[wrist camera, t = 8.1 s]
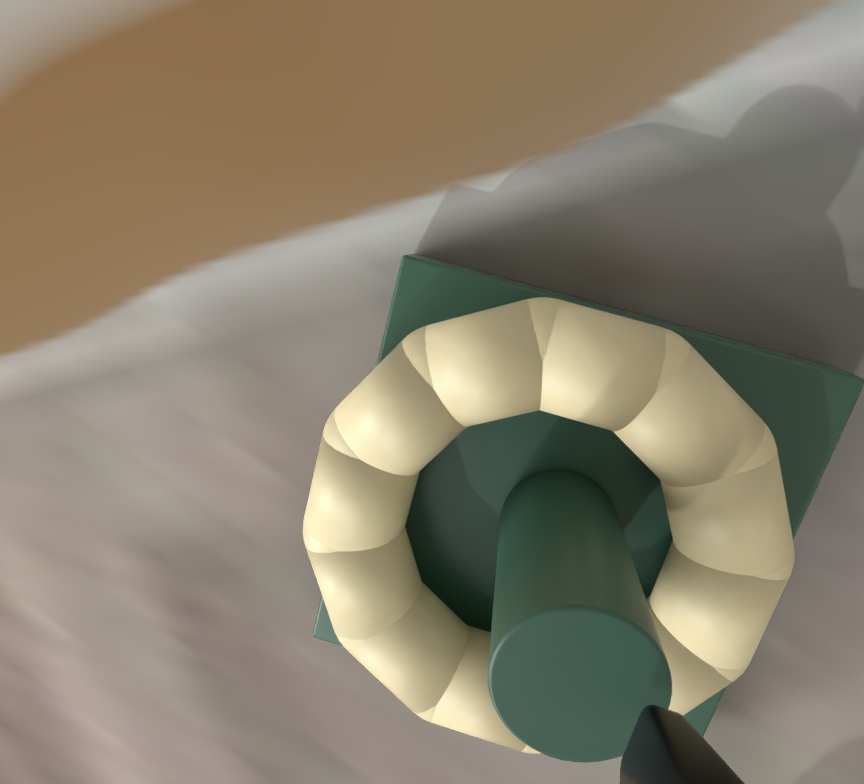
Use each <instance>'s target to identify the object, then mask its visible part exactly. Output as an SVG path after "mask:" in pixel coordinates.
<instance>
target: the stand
mask: <svg viewBox="0 0 864 784" xmlns="http://www.w3.org/2000/svg"><path fill="white" fill-rule="evenodd" d="M537 297H548V298H554V299H559V300H563V301H567V302H571V303H574V304H578V305H582V306H585V307H589V308H593V309H596V310H600V311H604V312H608V313H611V314H615V315H619V316H622V317H626V318H630V319H633V320H637V321H641V322H645V323H648V324H652V325H656V326H659V327H663V328H665V329H669V330H671V331H673V332H675V333H676V334H678V335H680V336H681V337H683V338H684V339H685V340H686V341H687V342H688V343H689V344H690V345H691V346H692V347H693V348H694V349H695V350H696V351H697V352H698V353H699V354H700V355H701V356H702V357H703V358H704V359H705V360H706V361H707V363H708V364H709V365H710V366H711V367H712V368H713V369H714V370H715V371H716V372H717V373H718V374H719V375H720V376H721V377H722V378H723V379H724V380H725V381H726V382H727V383H728V384H729V385H730V387H731V388H732V389H733V390H734V391H735V392H736V393H737V394H738V395H739V396H740V397H741V398H742V399H743V400H744V401H745V402H746V403H747V404H748V405H749V406H750V407H751V408H752V409H753V411H754V412H755V413H756V414H757V415H758V416H759V417H760V418H761V419H762V420H763V421H764V423H765V424H766V425H767V426H768V428H769V429H770V431H771V433H772V435H773V437H774V439H775V443H776V447H777V451H778V457H779V463H780V468H781V474H782V480H783V486H784V491H785V497H786V503H787V509H788V514H789V520H790V526H791V532H792V537H793V538H794V536H795V534H796V532H797V530H798V527H799V525H800V523H801V521H802V519H803V516H804V514H805V512H806V510H807V508H808V506H809V503H810V501H811V499H812V497H813V495H814V492H815V490H816V488H817V486H818V484H819V481H820V479H821V477H822V475H823V473H824V470H825V468H826V466H827V464H828V462H829V459H830V457H831V455H832V453H833V451H834V449H835V446H836V444H837V442H838V440H839V438H840V435H841V433H842V431H843V429H844V427H845V424H846V422H847V420H848V418H849V416H850V413H851V411H852V409H853V407H854V405H855V402H856V400H857V398H858V396H859V394H860V392H861V389H862V387H863V385H864V380H863V379H862V378H860V377H858V376H855V375H853V374H850V373H848V372H845V371H843V370H840V369H838V368H835V367H832V366H828V365H825V364H821V363H817V362H814V361H810V360H806V359H803V358H799V357H795V356H791V355H788V354H784V353H780V352H777V351H773V350H769V349H766V348H762V347H758V346H754V345H751V344H747V343H743V342H740V341H736V340H732V339H729V338H725V337H721V336H717V335H714V334H710V333H706V332H703V331H699V330H695V329H691V328H688V327H684V326H680V325H677V324H673V323H669V322H666V321H662V320H658V319H654V318H651V317H647V316H643V315H640V314H636V313H632V312H629V311H625V310H621V309H617V308H614V307H610V306H606V305H603V304H599V303H595V302H592V301H588V300H584V299H580V298H577V297H573V296H569V295H566V294H562V293H558V292H554V291H551V290H547V289H543V288H540V287H536V286H532V285H529V284H525V283H521V282H517V281H514V280H510V279H506V278H503V277H499V276H495V275H492V274H488V273H484V272H480V271H477V270H473V269H469V268H466V267H462V266H458V265H455V264H451V263H447V262H443V261H440V260H436V259H432V258H429V257H425V256H421V255H417V254H411V255H404V256H403V257H402V261H401V265H400V269H399V273H398V278H397V282H396V286H395V290H394V294H393V299H392V303H391V307H390V311H389V315H388V320H387V324H386V328H385V332H384V336H383V341H382V345H381V349H380V353H379V358H378V362H377V365H378V364H379V363H380V362H381V361H382V360H383V359H384V358H385V357H386V356H387V355H388V354H389V353H390V352H391V351H392V350H393V349H394V348H395V347H396V346H397V345H398V344H399V343H400V342H401V341H402V340H403V339H404V338H405V337H406V336H408V335H409V334H410V333H411V332H413V331H415V330H417V329H419V328H421V327H424V326H427V325H430V324H434V323H438V322H441V321H445V320H449V319H453V318H457V317H461V316H464V315H468V314H472V313H476V312H480V311H483V310H487V309H491V308H495V307H499V306H502V305H506V304H510V303H514V302H518V301H521V300H525V299H531V298H537ZM405 528H406V531H407V535H408V538H409V541H410V544H411V548H412V551H413V554H414V558H415V561H416V564H417V568H418V571H419V574H420V577H421V581H422V582H423V583H424V584H425V585H426V586H427V587H428V588H429V589H430V590H431V591H432V592H433V593H434V594H435V595H436V596H437V597H438V598H439V599H441V600H442V601H443V602H444V603H445V604H446V605H447V606H448V607H449V608H450V609H451V610H452V611H453V612H454V613H455V614H456V615H457V616H458V617H459V618H460V619H461V620H462V621H463V622H464V623H465V624H466V625H469V626H472V627H475V628H478V629H482V630H485V631H488V632H491V639H490V651H489V664H488V676H487V678H488V689H489V694H490V698H491V701H492V703H493V706H494V708H495V710H496V712H497V714H498V716H499V718H500V719H501V720H502V722H503V723H504V725H505V726H506V727H507V728H508V729H509V730H510V731H511V733H512V734H513V735H515V736H516V737H517V738H518V739H519V740H520V741H522V742H523V743H525V744H526V745H528V746H529V747H531V748H532V749H534V750H536V751H538V752H540V753H543V754H545V755H548V756H550V757H553V758H557V759H561V760H566V761H572V762H598V761H604V760H609V759H613V758H616V757H620V756H622V755H624V752H625V750H626V747H627V745H628V742H629V740H630V737H631V735H632V733H633V730H634V728H635V725H636V723H637V721H638V718H639V716H640V714H641V712H642V710H643V709H644V708H645V707H646V706H648V705H655V706H658V707H662V708H665V709H668V708H669V706H670V702H671V696H672V678H671V672H670V668H669V665H668V662H667V659H666V656H665V653H664V650H663V647H662V644H661V641H660V638H659V636H658V633H657V630H656V627H655V624H654V621H653V618H652V615H651V612H650V609H649V607H648V604H647V601H646V599H647V598H648V597H649V596H651V593H652V591H653V588H654V586H655V583H656V581H657V578H658V576H659V573H660V571H661V568H662V566H663V563H664V560H665V558H666V555H667V553H668V550H669V548H670V545H671V543H672V540H673V537H672V532H671V528H670V523H669V518H668V514H667V509H666V504H665V500H664V495H663V490H662V486H661V481H660V479H659V478H658V477H657V476H656V475H655V474H654V473H653V472H652V471H651V470H650V469H649V468H648V467H647V466H646V465H645V464H644V463H643V462H642V461H641V460H640V458H639V457H638V456H637V455H636V454H635V453H634V452H633V451H632V450H631V449H630V448H629V447H628V446H627V445H626V444H625V443H624V442H623V441H622V440H621V439H620V438H619V437H618V436H617V435H616V434H615V433H614V432H613V431H611V430H608V429H604V428H601V427H597V426H593V425H590V424H586V423H583V422H579V421H576V420H572V419H569V418H565V417H562V416H558V415H555V414H551V413H548V412H544V411H541V410H539V411H534V412H530V413H525V414H521V415H517V416H512V417H508V418H503V419H499V420H495V421H490V422H486V423H481V424H477V425H473V426H468V427H467V428H466V429H464V430H463V431H462V432H461V433H460V434H459V435H458V436H457V437H456V438H455V439H454V440H453V441H452V442H450V443H449V444H448V445H447V446H446V447H445V448H444V449H443V450H442V451H441V452H440V453H439V454H438V455H436V456H435V457H434V458H433V459H432V460H431V461H430V462H429V463H428V464H427V465H426V466H425V467H424V468H422V469H421V470H420V472H419V476H418V480H417V483H416V487H415V491H414V494H413V498H412V502H411V506H410V509H409V513H408V517H407V521H406V524H405ZM313 636H314V637H316V638H319V639H322V640H325V641H329V642H332V643H335V644H338V645H341V646H343V645H342V644H341V642H340V641H339V640H338V637H337V636H336V634H335V631H334V629H333V626H332V623H331V620H330V617H329V614H328V611H327V608H326V605H325V602H324V599H323V596H322V598H321V602H320V606H319V610H318V614H317V619H316V623H315V627H314V631H313ZM725 688H726V687H725ZM725 688H723V689H722V690H720V691H719V692H717V693H716V694H714V695H713V696H711V697H710V698H708V699H707V700H705V701H704V702H702V703H701V704H699V705H698V706H697V707H695V708H694V709H692V710H691V711H689V712H688V713H686V714H685V715H683V716H684V717H685V718H686V719H687V721H688V722H689V723H690V724H691V725H692V726H693V727H694V728H695V729H696V731H697V732H698V733H699V734H700V735H701V736H702V737H703V736H704V734H705V731H706V729H707V727H708V725H709V723H710V720H711V718H712V716H713V714H714V712H715V709H716V707H717V705H718V703H719V701H720V698H721V696H722V694H723V692H724V690H725Z"/></svg>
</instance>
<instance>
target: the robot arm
mask: <svg viewBox="0 0 864 784" xmlns="http://www.w3.org/2000/svg"><path fill="white" fill-rule="evenodd" d="M620 784H745V783H744V782H743V781H742V780H741V779H740V778H739V777H738V776H737V775H736V774H735V772H734V771H733V770H732V769H731V768H730V767H729V766H728V765H727V764H726V763H725V761H724V760H723V759H722V758H721V757H720V756H719V755H718V754H717V753H716V751H715V750H714V749H713V748H712V747H711V746H710V745H709V744H708V743H707V742H706V740H705V739H704V738H703V737H702V736H701V735H700V734H699V733H698V732H697V731H696V729H695V728H694V727H693V726H692V725H691V724H690V723H689V722H688V721H687V719H686V718H685V717H684V716H683V715H681V714H680V713H678V712H675V711H671V710H668V709H665V708H662V707H658V706H655V705H648V706H646V707H645V708H644V709H643V710H642V712H641V714H640V716H639V718H638V721H637V723H636V725H635V728H634V730H633V733H632V735H631V737H630V740H629V742H628V745H627V747H626V750H625V752H624V755H623V758H622V762H621V768H620Z"/></svg>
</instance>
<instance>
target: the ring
mask: <svg viewBox="0 0 864 784" xmlns="http://www.w3.org/2000/svg"><path fill="white" fill-rule="evenodd" d="M539 410H541V411H544V412H548V413H551V414H555V415H558V416H562V417H565V418H569V419H572V420H576V421H579V422H583V423H586V424H590V425H593V426H597V427H601V428H604V429H608V430H611V431H613V432H614V433H615V434H616V435H617V436H618V437H619V438H620V439H621V440H622V441H623V442H624V443H625V444H626V445H627V446H628V447H629V448H630V449H631V450H632V451H633V452H634V453H635V454H636V455H637V456H638V457H639V458H640V460H641V461H642V462H643V463H644V464H645V465H646V466H647V467H648V468H649V469H650V470H651V471H652V472H653V473H654V474H655V475H656V476H657V477H658V478H659V479H660V481H661V486H662V490H663V495H664V500H665V504H666V509H667V514H668V518H669V523H670V528H671V532H672V537H673V540H672V543H671V545H670V548H669V550H668V553H667V555H666V558H665V560H664V563H663V566H662V568H661V571H660V573H659V576H658V578H657V581H656V583H655V586H654V588H653V591H652V593H651V596H649V597H648V598H647V599H646V601H647V604H648V607H649V609H650V612H651V615H652V618H653V621H654V624H655V627H656V630H657V633H658V636H659V638H660V641H661V644H662V647H663V650H664V653H665V656H666V659H667V662H668V665H669V668H670V672H671V678H672V696H671V702H670V706H669V708H668V710H671V711H675V712H678V713H680V714H681V715H685V714H686V713H688V712H689V711H691V710H692V709H694V708H695V707H697V706H698V705H699V704H701V703H702V702H704V701H705V700H707V699H708V698H710V697H711V696H713V695H714V694H716V693H717V692H719V691H720V690H722V689H723V688H725V687H726V686H728V685H729V684H731V683H732V682H734V681H735V680H736V679H737V678H738V677H740V676H741V675H742V674H743V673H744V672H745V670H746V669H747V667H748V666H749V664H750V662H751V660H752V658H753V655H754V653H755V651H756V649H757V647H758V645H759V642H760V640H761V638H762V636H763V634H764V632H765V629H766V627H767V625H768V623H769V621H770V619H771V617H772V614H773V612H774V610H775V608H776V606H777V604H778V601H779V599H780V597H781V595H782V593H783V591H784V588H785V586H786V584H787V582H788V580H789V578H790V575H791V573H792V569H793V565H794V560H795V551H794V543H793V537H792V532H791V526H790V520H789V514H788V509H787V503H786V497H785V491H784V486H783V480H782V474H781V468H780V463H779V457H778V451H777V447H776V443H775V439H774V437H773V435H772V433H771V431H770V429H769V428H768V426H767V425H766V424H765V423H764V421H763V420H762V419H761V418H760V417H759V416H758V415H757V414H756V413H755V412H754V411H753V409H752V408H751V407H750V406H749V405H748V404H747V403H746V402H745V401H744V400H743V399H742V398H741V397H740V396H739V395H738V394H737V393H736V392H735V391H734V390H733V389H732V388H731V387H730V385H729V384H728V383H727V382H726V381H725V380H724V379H723V378H722V377H721V376H720V375H719V374H718V373H717V372H716V371H715V370H714V369H713V368H712V367H711V366H710V365H709V364H708V363H707V361H706V360H705V359H704V358H703V357H702V356H701V355H700V354H699V353H698V352H697V351H696V350H695V349H694V348H693V347H692V346H691V345H690V344H689V343H688V342H687V341H686V340H685V339H684V338H683V337H681V336H680V335H678V334H676V333H675V332H673V331H671V330H669V329H665V328H663V327H659V326H656V325H652V324H648V323H645V322H641V321H637V320H633V319H630V318H626V317H622V316H619V315H615V314H611V313H608V312H604V311H600V310H596V309H593V308H589V307H585V306H582V305H578V304H574V303H571V302H567V301H563V300H559V299H554V298H548V297H537V298H531V299H525V300H521V301H518V302H514V303H510V304H506V305H502V306H499V307H495V308H491V309H487V310H483V311H480V312H476V313H472V314H468V315H464V316H461V317H457V318H453V319H449V320H445V321H441V322H438V323H434V324H430V325H427V326H424V327H421V328H419V329H417V330H415V331H413V332H411V333H410V334H409V335H408V336H406V337H405V338H404V339H403V340H402V341H401V342H400V343H399V344H398V345H397V346H396V347H395V348H394V349H393V350H392V351H391V352H390V353H389V354H388V355H387V356H386V357H385V358H384V359H383V360H382V361H381V362H380V363H379V364H378V365H377V366H376V367H375V369H374V370H373V371H372V372H371V373H370V374H369V375H368V376H367V377H366V378H365V379H364V380H363V381H362V382H361V383H360V384H359V385H358V386H357V387H356V388H355V389H354V390H353V391H352V392H351V393H350V394H349V395H348V396H347V397H346V398H345V399H344V400H343V401H342V402H341V403H340V404H339V405H338V406H337V407H336V409H335V410H334V411H333V412H332V414H331V415H330V417H329V418H328V420H327V422H326V424H325V427H324V430H323V434H322V439H321V443H320V448H319V453H318V457H317V462H316V466H315V471H314V475H313V480H312V484H311V489H310V494H309V498H308V503H307V507H306V512H305V516H304V523H303V538H304V542H305V546H306V549H307V552H308V555H309V558H310V561H311V564H312V567H313V570H314V573H315V576H316V579H317V582H318V585H319V587H320V590H321V593H322V596H323V599H324V602H325V605H326V608H327V611H328V614H329V617H330V620H331V623H332V626H333V629H334V631H335V634H336V636H337V637H338V640H339V641H340V642H341V644H342V645H343V646H344V647H345V648H346V649H347V650H348V651H349V652H350V653H351V654H352V655H353V656H354V657H355V658H356V659H357V660H358V661H359V662H360V663H361V664H363V665H364V666H365V667H366V668H367V669H368V670H369V671H370V672H371V673H372V674H373V675H374V676H375V677H376V678H377V679H378V680H380V681H381V682H382V683H383V684H384V685H385V686H386V687H387V688H388V689H389V690H390V691H391V692H392V693H393V694H394V695H395V696H396V697H398V698H399V699H400V700H401V701H402V702H403V703H404V704H405V705H406V706H407V707H408V708H409V709H410V710H411V711H412V712H414V713H415V714H416V715H418V716H419V717H421V718H422V719H424V720H427V721H429V722H432V723H435V724H438V725H441V726H444V727H447V728H450V729H453V730H456V731H459V732H462V733H465V734H469V735H472V736H475V737H478V738H481V739H484V740H487V741H490V742H493V743H496V744H499V745H502V746H505V747H509V748H512V749H515V750H518V751H521V752H526V753H540V752H538V751H536V750H534V749H532V748H531V747H529V746H528V745H526V744H525V743H523V742H522V741H520V740H519V739H518V738H517V737H516V736H515V735H513V734H512V733H511V731H510V730H509V729H508V728H507V727H506V726H505V725H504V723H503V722H502V720H501V719H500V718H499V716H498V714H497V712H496V710H495V708H494V706H493V703H492V701H491V698H490V694H489V689H488V678H487V676H488V664H489V651H490V639H491V632H488V631H485V630H482V629H478V628H475V627H472V626H469V625H466V624H465V623H464V622H463V621H462V620H461V619H460V618H459V617H458V616H457V615H456V614H455V613H454V612H453V611H452V610H451V609H450V608H449V607H448V606H447V605H446V604H445V603H444V602H443V601H442V600H441V599H439V598H438V597H437V596H436V595H435V594H434V593H433V592H432V591H431V590H430V589H429V588H428V587H427V586H426V585H425V584H424V583H423V582H422V581H421V577H420V574H419V571H418V568H417V564H416V561H415V558H414V554H413V551H412V548H411V544H410V541H409V538H408V535H407V531H406V528H405V524H406V521H407V517H408V513H409V509H410V506H411V502H412V498H413V494H414V491H415V487H416V483H417V480H418V476H419V472H420V470H421V469H422V468H424V467H425V466H426V465H427V464H428V463H429V462H430V461H431V460H432V459H433V458H434V457H435V456H436V455H438V454H439V453H440V452H441V451H442V450H443V449H444V448H445V447H446V446H447V445H448V444H449V443H450V442H452V441H453V440H454V439H455V438H456V437H457V436H458V435H459V434H460V433H461V432H462V431H463V430H464V429H466V428H467V427H468V426H473V425H477V424H481V423H486V422H490V421H495V420H499V419H503V418H508V417H512V416H517V415H521V414H525V413H530V412H534V411H539Z"/></svg>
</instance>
